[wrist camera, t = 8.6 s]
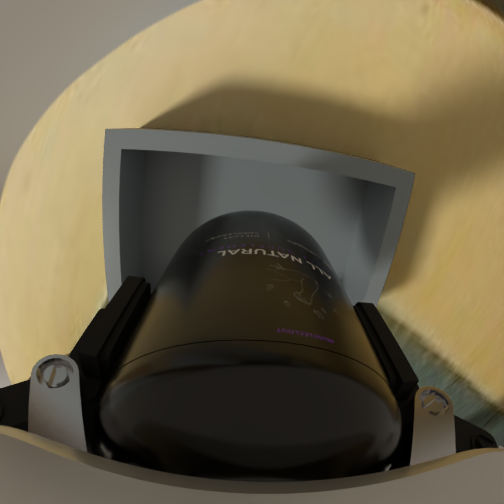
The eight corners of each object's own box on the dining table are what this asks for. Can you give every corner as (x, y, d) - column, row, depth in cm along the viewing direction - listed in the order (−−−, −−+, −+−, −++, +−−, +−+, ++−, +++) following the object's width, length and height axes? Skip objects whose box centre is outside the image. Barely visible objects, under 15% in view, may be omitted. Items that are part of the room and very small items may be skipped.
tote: (378, 161, 18) (415, 173, 14) (338, 313, 23) (356, 355, 18) (139, 128, 17) (105, 129, 13) (135, 290, 22) (112, 328, 17)
